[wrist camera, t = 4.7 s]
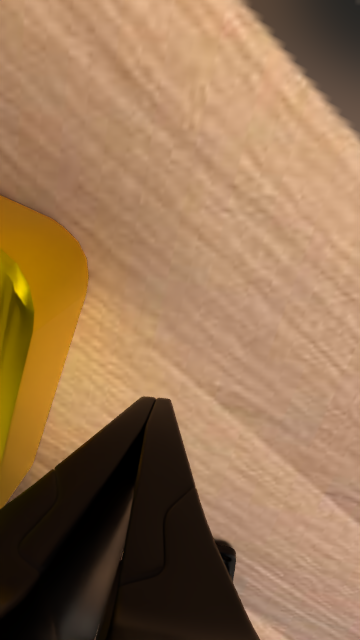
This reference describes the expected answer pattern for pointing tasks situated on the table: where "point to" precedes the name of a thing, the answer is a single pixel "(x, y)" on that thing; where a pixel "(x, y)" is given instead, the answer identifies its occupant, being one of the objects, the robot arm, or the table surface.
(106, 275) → the table surface
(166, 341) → the table surface
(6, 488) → the element tile
